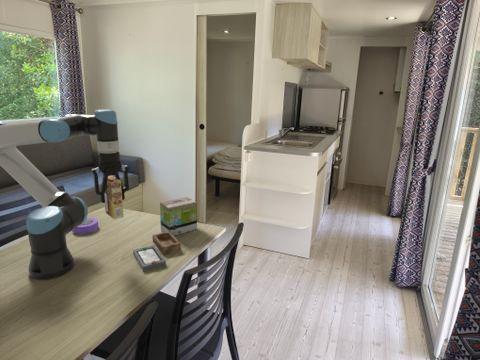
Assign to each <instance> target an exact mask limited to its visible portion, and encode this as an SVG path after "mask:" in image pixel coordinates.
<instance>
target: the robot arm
mask: <svg viewBox="0 0 480 360" xmlns="http://www.w3.org/2000/svg"><path fill="white" fill-rule="evenodd" d="M93 113H94V114H77V113H72V114H70V113H69V114H65V115H64V116H63V117H53V118H48V119H40V120H33V121H25V122H17V123H10V124H7V123H4V122H3V121H0V167H1V168H2V169H3V170H4V171H6V173H7V174H9V176H11V178H13V180H15V181H16V182H17V183H18V184H19V185H20V186H21V187H22V188H23V189H24V190H25V191H26V192H27V193H28V194H29V195H30V196H32V198H33V199H34V200H35V201H36V202H37V203H39V205H40V206H41V208H36V209H34V210H33V211H30V213H29V214H27V217H26V220H25V221H26V222H25V223H26V227H25V228H26V231H27V234H28V235H27V236H28V241H29V247H30V251H31V255H30V261H29V265H28V274H29V276H30V277H31V278H32V279H34V280H41V281H42V280H50V279H55V278H59V277H62V276H63V275H65V274H68V273H69V272H71V270H73V268H74V267H75V259H74V256H73V255H72V254H71V252H70V251H71V250H70V249H69V248H68V245H67V239H66V236H67V234H69V233H70V232H72V230H73V229H75V228H76V227H78V226H80V225H81V224H82V223H83V222H84V221H85V219H86V218H88V214H89V208H88V205H87V204H86V202H85V201H84V200H83V199H82V198H80V197H77V196H71V195H70V194H69V192H67V191H61V190H59V189H58V188H57V186H56V185H54V184H53V183H52V182H51V181H50V180H49V179H48V178H47V177H46V176H45V174H43V172H41V171H40V170H39V169H38V168H37V167H36V166H35V164H33V163H32V162H31V161H30V160H29V158H27V157H26V156H25V155H24V153H22V152H21V151H20V150H19V149H18V148H17V146H27V145H35V144H42V143H43V144H44V143H60V142H64V141H66V140H69V139H74V138H77V137H81V136H96V143H97V151H98V166H97V167H95V168H91V172H92V175H93V183H94V192H95V194H96V195H98V196H99V195H100V201H101V203H102V204H104V210H105V212H106V211H108V203H107V195H106V193H105V189H106V184H107V179H108V176H114V177H115V178H116V179H119V180H121V177H120V175H119V172H120V171H121V169H122V176H123V182H121V190H122V201H125V197H126V196H125V195H126V194H125V192H126V191H129V190H130V187H129V169H130V168H129V167H130V166H128V165H127V164H125V165H124V164H122V163H121V154H120V151H119V150H120V143H119V133H118V131H119V129H118V119H117V113H116V111H115V110H113V109H95V110H94V112H93ZM99 171H100V172H101V173H102V177H103V179H102V178H101V179H102V180H101V185H100V183H99V175H98V174H99Z"/></svg>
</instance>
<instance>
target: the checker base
mask: <svg viewBox="0 0 480 360" xmlns="http://www.w3.org/2000/svg"><path fill="white" fill-rule="evenodd" d="M148 249H153V250H154V252H155V253H156V255H157V256H158V257H159V259H160V261H152V263H148V264H144V263H143V261H142V260H141V258H140V256H139V255H138V252H139V251H144V250H148ZM132 253H133V256H134V259H135V260H136V261H137V263H138V265H139V268H140V269H141V270H142V272H147V271H150V270H153V269H154V270H155V269H158V268H163V267H166V266H167V261H166V259H165V258H164V257H163V255H162V254H161V252H160V251H159V250H158V248H157V247H156V245H155V244H154V245H150V246H146V245H145V246H141V247H140V248H136V249H133V250H132Z"/></svg>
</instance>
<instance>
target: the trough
mask: <svg viewBox="0 0 480 360" xmlns="http://www.w3.org/2000/svg"><path fill="white" fill-rule="evenodd" d="M152 243H153V244H154V246H155V247H156V248H157V250H158V251H159V252H160V254H161V255H162V256H164V255H168V254H171V253H176V252H180V250H182V249H181V242H180V241H179V240H178V239H177V238H176V237H175V236H173V234H172V233H171V232H170V231H168V232H163V231H162V232H159V233H156V234H155V233H154V234H152Z"/></svg>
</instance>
